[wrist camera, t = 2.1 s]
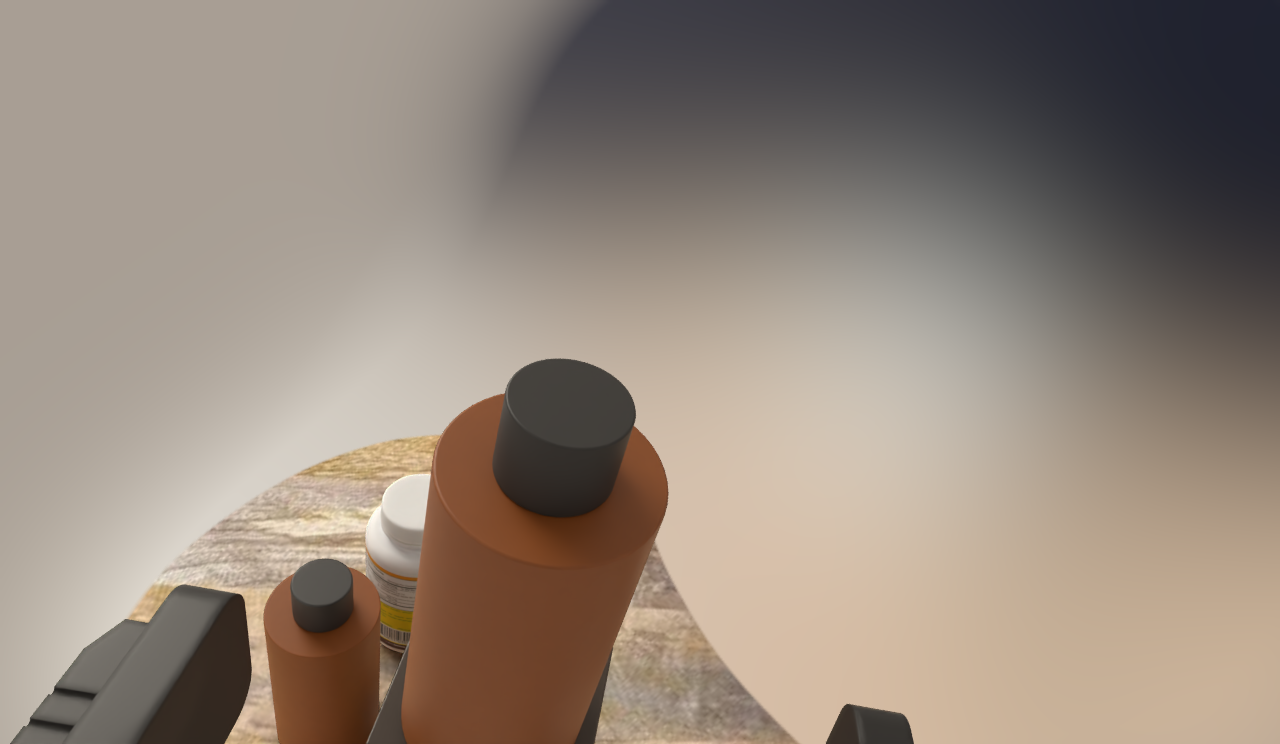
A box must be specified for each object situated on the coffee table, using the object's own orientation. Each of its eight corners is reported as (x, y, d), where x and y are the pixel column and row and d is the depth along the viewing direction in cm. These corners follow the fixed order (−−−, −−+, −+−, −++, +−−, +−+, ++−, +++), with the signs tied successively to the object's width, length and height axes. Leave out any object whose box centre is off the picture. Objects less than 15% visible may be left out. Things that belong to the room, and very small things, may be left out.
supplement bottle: (446, 568, 54) (457, 453, 48) (475, 641, 51) (490, 527, 44) (355, 592, 52) (353, 473, 45) (378, 671, 48) (380, 554, 42)
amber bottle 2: (372, 771, 22) (401, 453, 15) (435, 612, 26) (484, 296, 19) (558, 821, 23) (680, 530, 15) (594, 655, 27) (705, 359, 19)
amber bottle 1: (259, 755, 44) (237, 614, 36) (303, 669, 47) (292, 525, 40) (356, 779, 44) (354, 643, 36) (392, 691, 48) (397, 551, 40)
